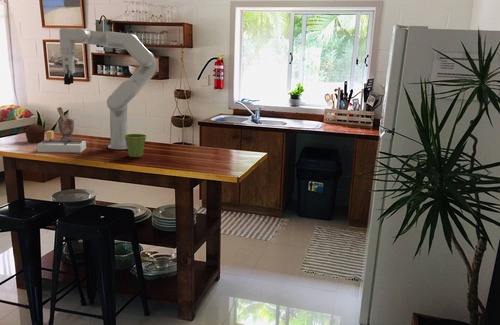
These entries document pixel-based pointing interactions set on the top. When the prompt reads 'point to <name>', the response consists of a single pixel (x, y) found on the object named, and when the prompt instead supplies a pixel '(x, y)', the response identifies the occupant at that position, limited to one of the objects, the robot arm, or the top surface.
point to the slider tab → (50, 135)
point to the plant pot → (135, 144)
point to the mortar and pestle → (65, 126)
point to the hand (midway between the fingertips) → (68, 83)
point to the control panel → (61, 146)
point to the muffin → (35, 133)
